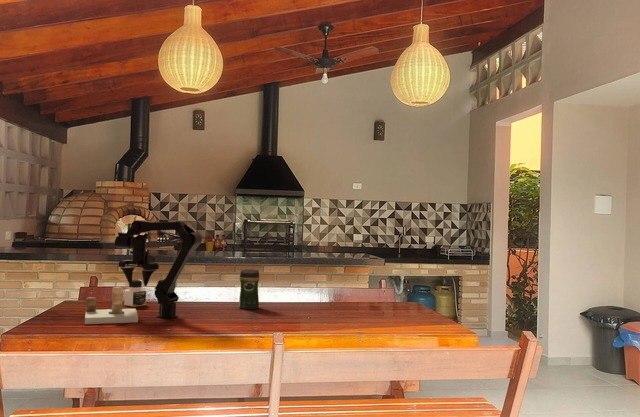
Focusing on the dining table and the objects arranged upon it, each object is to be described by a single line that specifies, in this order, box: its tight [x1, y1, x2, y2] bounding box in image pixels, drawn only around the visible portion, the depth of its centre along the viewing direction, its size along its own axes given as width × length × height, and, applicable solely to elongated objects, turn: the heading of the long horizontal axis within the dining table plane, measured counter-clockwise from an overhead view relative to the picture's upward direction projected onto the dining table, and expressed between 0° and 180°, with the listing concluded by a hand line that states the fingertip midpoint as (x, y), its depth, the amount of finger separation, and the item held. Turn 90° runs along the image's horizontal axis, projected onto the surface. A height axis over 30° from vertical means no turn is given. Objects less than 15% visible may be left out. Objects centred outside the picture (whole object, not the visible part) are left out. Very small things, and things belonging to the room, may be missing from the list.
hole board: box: [84, 308, 139, 325], centre depth 233 cm, size 20×17×2 cm
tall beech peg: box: [111, 286, 124, 314], centre depth 233 cm, size 4×4×13 cm
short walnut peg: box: [85, 296, 97, 313], centre depth 235 cm, size 4×4×6 cm
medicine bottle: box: [123, 279, 147, 308], centre depth 266 cm, size 7×7×12 cm
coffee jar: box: [238, 268, 260, 310], centre depth 269 cm, size 10×8×19 cm
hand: (137, 284), depth 244 cm, fingers open, 9 cm apart
